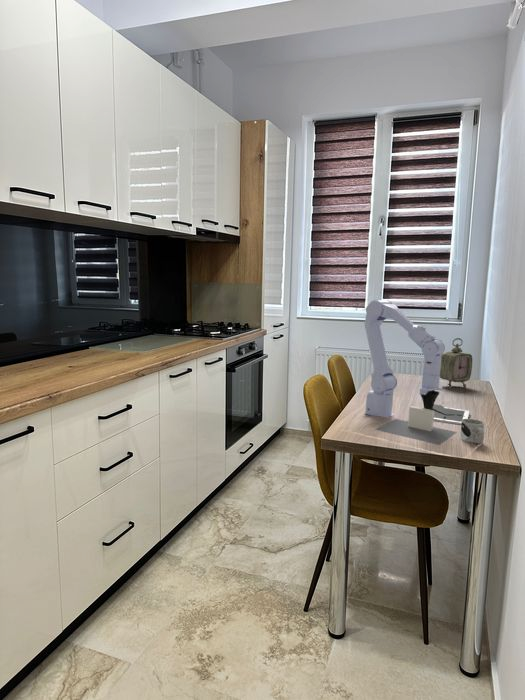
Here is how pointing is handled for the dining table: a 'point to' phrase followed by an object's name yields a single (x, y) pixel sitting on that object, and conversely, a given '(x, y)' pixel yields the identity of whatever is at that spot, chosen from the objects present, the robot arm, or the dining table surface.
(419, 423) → the tile
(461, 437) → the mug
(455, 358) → the tabletop clock
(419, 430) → the mat
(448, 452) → the dining table surface
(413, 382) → the dining table surface
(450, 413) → the picture frame
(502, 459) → the dining table surface
